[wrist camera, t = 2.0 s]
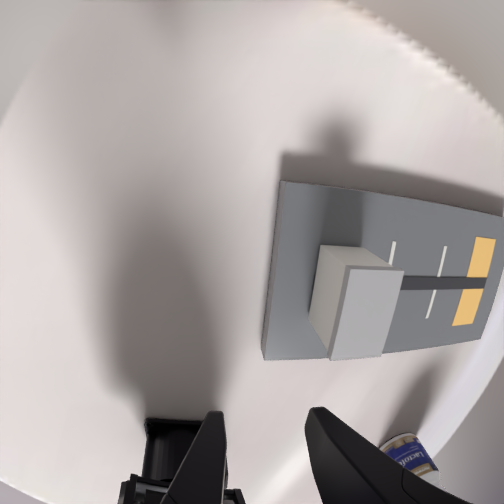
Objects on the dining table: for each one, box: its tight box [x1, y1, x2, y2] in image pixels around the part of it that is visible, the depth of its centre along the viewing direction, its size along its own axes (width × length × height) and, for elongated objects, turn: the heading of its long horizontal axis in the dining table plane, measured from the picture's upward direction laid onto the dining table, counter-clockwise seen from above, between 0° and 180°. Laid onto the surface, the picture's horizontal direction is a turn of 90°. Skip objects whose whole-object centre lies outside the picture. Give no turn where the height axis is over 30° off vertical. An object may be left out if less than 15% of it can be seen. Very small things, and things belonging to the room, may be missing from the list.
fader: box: [308, 245, 404, 361], centre depth 18 cm, size 3×5×5 cm, turn 174°
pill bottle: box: [380, 433, 447, 492], centre depth 25 cm, size 6×6×10 cm
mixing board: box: [261, 180, 504, 360], centre depth 22 cm, size 22×12×2 cm, turn 84°
